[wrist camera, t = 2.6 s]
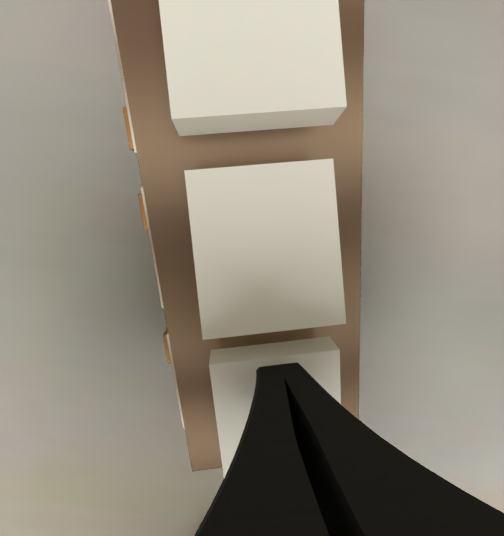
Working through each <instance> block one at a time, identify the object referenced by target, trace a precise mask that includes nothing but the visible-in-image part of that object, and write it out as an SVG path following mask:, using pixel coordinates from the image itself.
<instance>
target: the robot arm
mask: <svg viewBox="0 0 504 536" xmlns="http://www.w3.org/2000/svg"><path fill="white" fill-rule="evenodd" d="M195 536H504V513H503V512H501V511H499V510H497V509H495V508H493V507H491V506H490V505H488V504H486V503H484V502H482V501H481V500H479V499H477V498H475V497H474V496H472V495H470V494H468V493H467V492H465V491H463V490H461V489H460V488H458V487H456V486H455V485H453V484H451V483H450V482H448V481H447V480H445V479H443V478H442V477H440V476H438V475H437V474H435V473H433V472H432V471H430V470H428V469H427V468H425V467H424V466H422V465H421V464H419V463H418V462H416V461H414V460H413V459H411V458H410V457H408V456H407V455H405V454H404V453H403V452H401V451H400V450H398V449H397V448H396V447H394V446H393V445H391V444H390V443H388V442H387V441H386V440H384V439H383V438H381V437H380V436H379V435H377V434H376V433H375V432H373V431H372V430H371V429H370V428H368V427H367V426H366V425H365V424H363V423H362V422H361V421H360V420H359V419H357V418H356V417H355V416H354V415H352V414H351V413H350V412H349V411H348V410H347V409H346V408H344V407H343V406H342V405H341V404H340V403H339V402H338V401H337V400H336V399H334V398H333V397H332V396H331V395H330V394H329V393H328V392H327V391H326V390H325V389H324V388H323V387H322V386H321V385H320V384H319V383H318V382H317V381H316V380H315V379H314V378H313V377H312V376H311V375H310V374H309V373H308V372H307V371H306V370H305V369H304V368H303V367H302V366H301V365H300V364H299V363H298V362H296V363H288V364H279V365H271V366H263V367H259V368H258V369H257V370H256V385H255V391H254V396H253V400H252V404H251V408H250V412H249V415H248V419H247V422H246V425H245V428H244V430H243V433H242V436H241V439H240V442H239V445H238V447H237V450H236V452H235V455H234V457H233V460H232V462H231V464H230V467H229V469H228V471H227V473H226V476H225V478H224V480H223V482H222V484H221V486H220V488H219V490H218V492H217V494H216V496H215V498H214V500H213V502H212V504H211V506H210V508H209V510H208V512H207V514H206V516H205V518H204V520H203V521H202V523H201V525H200V527H199V529H198V530H197V532H196V534H195Z"/></svg>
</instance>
